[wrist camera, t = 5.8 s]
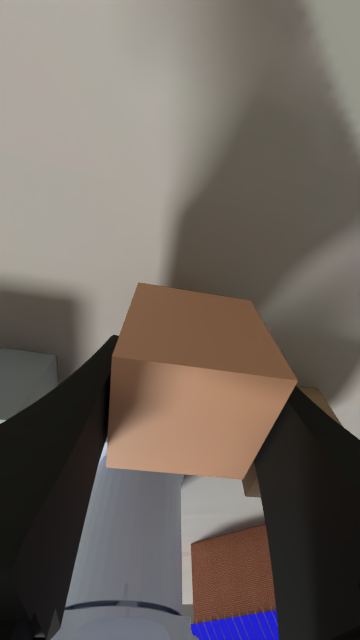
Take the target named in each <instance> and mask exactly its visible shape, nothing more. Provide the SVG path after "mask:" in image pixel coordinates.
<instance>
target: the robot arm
mask: <svg viewBox="0 0 360 640" xmlns="http://www.w3.org/2000/svg"><path fill="white" fill-rule="evenodd" d="M118 338H119V336H117V335H113V336H111V337H110V338H109V339H108V340H107V342H106V343H105V344H104V345H103V346H102V347H101V348H100V349H99V350H98V351H97V352H96V353H95V354H94V355H93V356H92V357H91V358H90V359H89V360H88V361H86V362H85V363H84V364H83V365H82V366H81V367H80V368H79V369H78V370H76V371H75V372H74V373H73V374H72V375H70V376H69V377H68V378H67V379H66V380H64V381H63V382H62V383H61V384H59V385H58V386H57V387H55V388H54V389H53V390H51V391H50V392H49V393H47V394H46V395H44V396H43V397H42V398H40V399H39V400H37V401H36V402H34V403H33V404H31V405H30V406H28V407H26V408H25V409H23V410H22V411H20V412H19V413H17V414H16V415H14V416H12V417H11V418H9V419H7V420H6V421H4V422H2V423H1V424H0V640H199V638H197V637H196V636H195V635H191V618H190V617H187V616H182V556H181V485H182V482H183V479H184V476H185V474H175V473H163V472H152V471H141V470H130V469H118V468H107V467H106V459H107V440H108V437H107V436H108V421H109V402H110V383H111V364H112V355H113V352H114V349H115V346H116V344H117V341H118ZM253 462H254V465H255V469H256V474H257V478H258V483H259V489H260V494H261V500H262V505H263V511H264V518H265V524H266V531H267V537H268V545H269V552H270V560H271V567H272V575H273V584H274V594H275V603H276V613H277V623H278V635H279V640H360V440H359V439H358V438H357V437H355V436H354V435H353V434H351V433H350V432H349V431H347V430H346V429H345V428H344V427H342V426H341V425H340V424H338V423H337V422H336V421H335V420H334V419H332V418H331V417H330V416H329V415H328V414H326V413H325V412H324V411H323V410H322V409H321V408H320V407H318V406H317V405H316V404H315V403H314V402H313V401H312V400H311V399H310V398H308V397H307V396H306V395H305V394H304V393H303V392H302V391H301V390H300V389H299V388H298V387H297V386H296V385H295V387H294V389H293V391H292V393H291V394H290V396H289V398H288V400H287V402H286V403H285V405H284V407H283V409H282V410H281V412H280V414H279V416H278V418H277V419H276V421H275V423H274V425H273V427H272V428H271V430H270V432H269V434H268V435H267V437H266V439H265V441H264V443H263V444H262V446H261V448H260V450H259V452H258V453H257V455H256V457H255V459H254V460H253Z"/></svg>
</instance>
